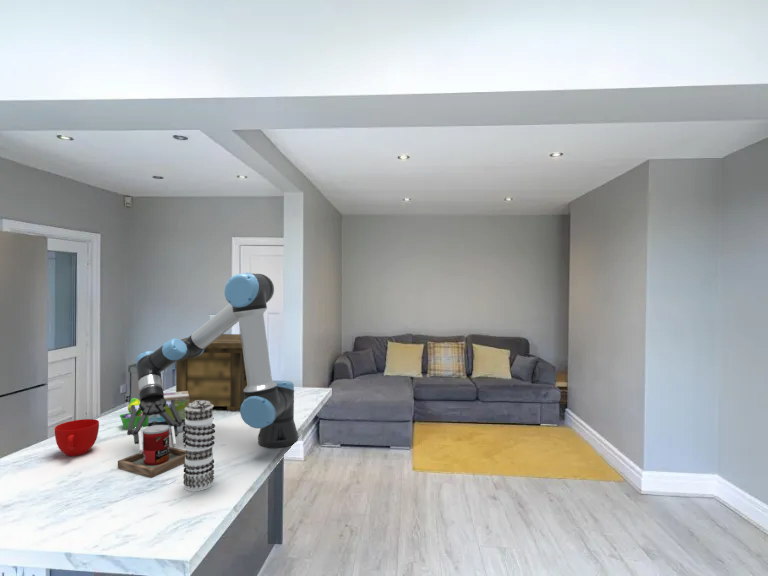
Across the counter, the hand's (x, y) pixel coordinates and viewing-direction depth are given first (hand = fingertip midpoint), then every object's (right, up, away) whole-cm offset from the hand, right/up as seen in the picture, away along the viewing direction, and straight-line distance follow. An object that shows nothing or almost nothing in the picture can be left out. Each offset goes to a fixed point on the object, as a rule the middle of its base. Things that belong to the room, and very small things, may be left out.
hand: (157, 448), depth 145 cm
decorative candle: (+19, -7, -12) cm, 23 cm away
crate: (-8, -5, +77) cm, 78 cm away
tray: (-2, -6, +3) cm, 7 cm away
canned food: (-2, -5, +3) cm, 6 cm away
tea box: (-14, -6, +36) cm, 39 cm away
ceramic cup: (-34, -6, +10) cm, 36 cm away
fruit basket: (-30, -6, +41) cm, 51 cm away
